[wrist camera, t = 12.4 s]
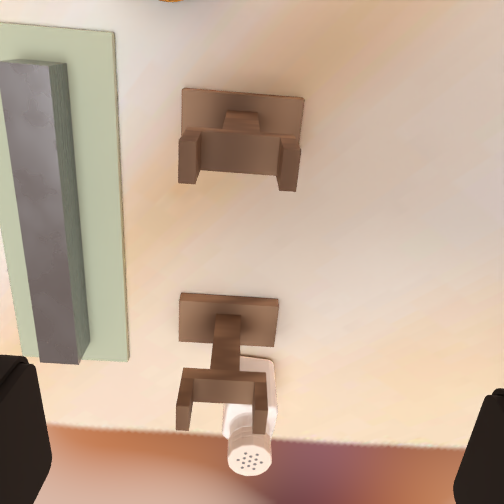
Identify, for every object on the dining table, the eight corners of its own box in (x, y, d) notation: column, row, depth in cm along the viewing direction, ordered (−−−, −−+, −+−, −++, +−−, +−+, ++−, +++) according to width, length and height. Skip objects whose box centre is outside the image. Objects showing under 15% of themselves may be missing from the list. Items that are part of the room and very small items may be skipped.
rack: (302, 97, 31) (330, 130, 21) (273, 338, 39) (282, 446, 29) (184, 87, 31) (151, 116, 20) (180, 332, 39) (156, 440, 29)
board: (114, 32, 29) (111, 32, 29) (129, 357, 40) (127, 362, 40) (-30, 20, 29) (-36, 19, 28) (25, 351, 40) (22, 356, 39)
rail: (19, 58, 29) (-4, 61, 26) (66, 63, 29) (48, 66, 27) (54, 339, 39) (40, 362, 36) (90, 341, 39) (78, 364, 36)
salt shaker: (224, 386, 42) (218, 477, 33) (230, 351, 40) (225, 438, 32) (267, 391, 42) (272, 483, 34) (275, 357, 40) (282, 444, 32)
